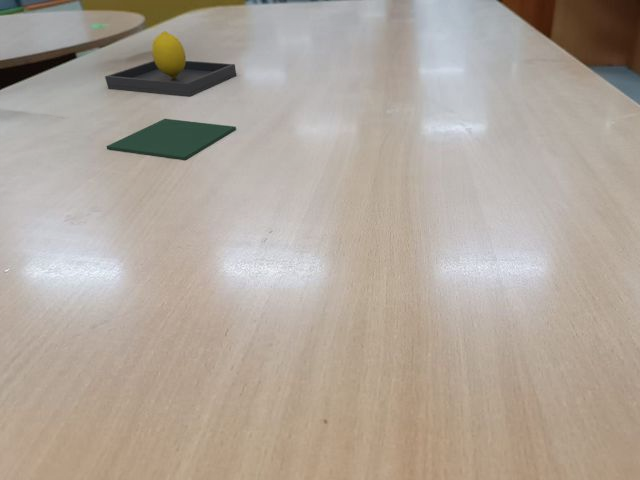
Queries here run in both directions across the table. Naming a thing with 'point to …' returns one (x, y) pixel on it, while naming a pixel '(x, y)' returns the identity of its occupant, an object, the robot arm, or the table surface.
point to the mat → (172, 138)
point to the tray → (184, 84)
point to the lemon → (168, 54)
